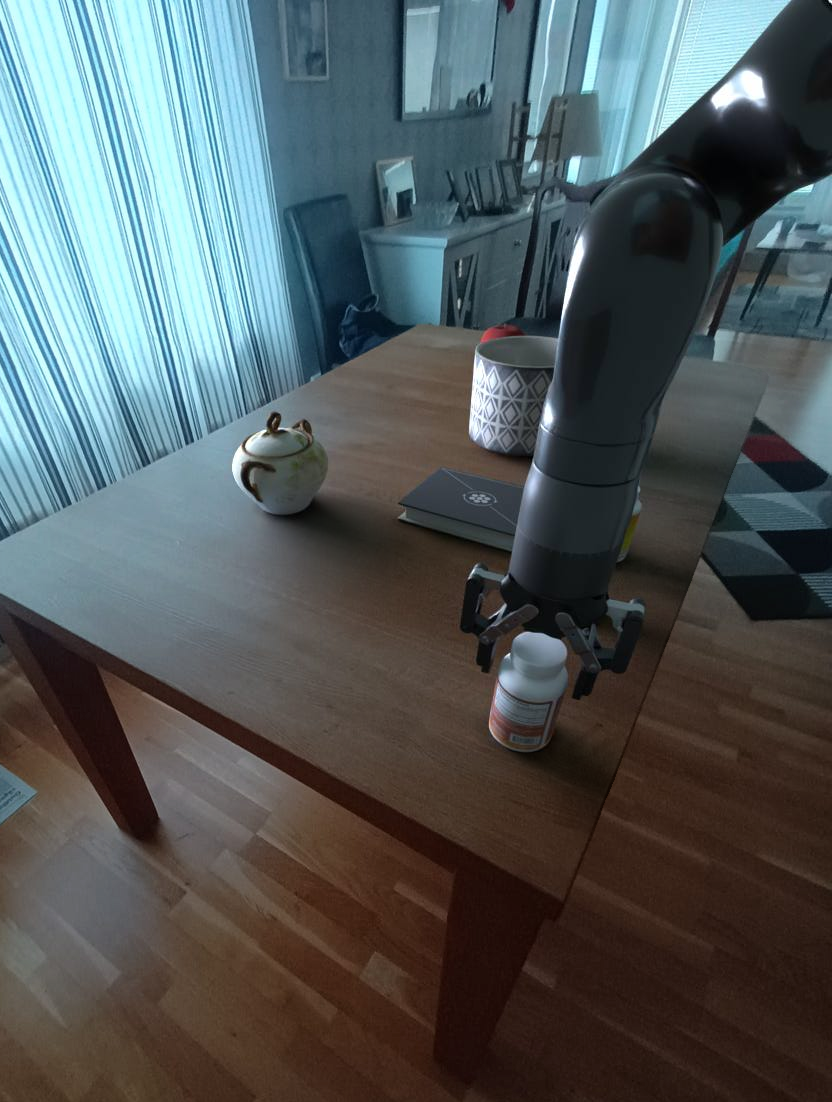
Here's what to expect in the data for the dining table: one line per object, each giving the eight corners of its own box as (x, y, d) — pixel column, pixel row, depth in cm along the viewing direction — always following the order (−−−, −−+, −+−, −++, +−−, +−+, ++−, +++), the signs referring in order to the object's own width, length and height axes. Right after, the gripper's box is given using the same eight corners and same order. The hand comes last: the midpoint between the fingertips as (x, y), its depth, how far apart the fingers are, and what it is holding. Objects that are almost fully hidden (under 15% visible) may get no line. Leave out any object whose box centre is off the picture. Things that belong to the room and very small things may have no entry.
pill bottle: (521, 698, 60) (541, 616, 53) (564, 738, 56) (592, 655, 49) (475, 721, 58) (488, 639, 51) (516, 764, 54) (537, 682, 47)
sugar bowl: (293, 541, 85) (282, 443, 76) (212, 521, 91) (191, 427, 81) (351, 485, 99) (348, 395, 89) (277, 470, 104) (266, 384, 94)
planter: (578, 433, 112) (600, 341, 102) (556, 473, 100) (578, 372, 89) (483, 419, 119) (494, 331, 108) (451, 454, 107) (460, 359, 96)
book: (565, 513, 89) (570, 496, 87) (531, 559, 80) (535, 540, 78) (439, 482, 98) (441, 465, 96) (396, 519, 89) (397, 502, 87)
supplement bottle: (633, 557, 80) (657, 489, 73) (605, 570, 77) (627, 501, 71) (601, 539, 83) (621, 473, 76) (574, 551, 81) (592, 484, 74)
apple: (521, 384, 135) (529, 329, 127) (475, 382, 137) (481, 327, 129) (522, 369, 143) (530, 317, 135) (478, 368, 145) (484, 316, 137)
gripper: (461, 527, 42) (443, 684, 53) (676, 571, 37) (608, 734, 48) (488, 483, 47) (467, 635, 58) (680, 517, 42) (618, 675, 53)
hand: (531, 680), depth 53 cm, fingers open, 7 cm apart
